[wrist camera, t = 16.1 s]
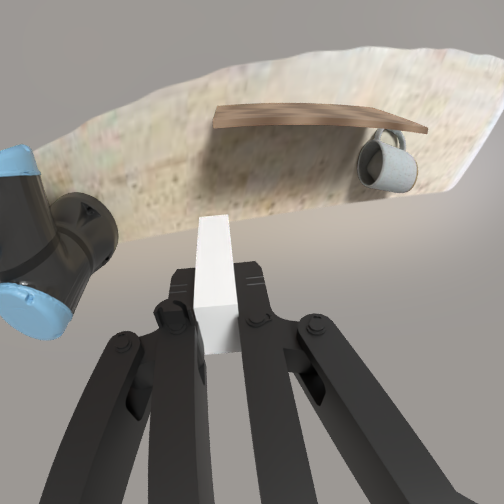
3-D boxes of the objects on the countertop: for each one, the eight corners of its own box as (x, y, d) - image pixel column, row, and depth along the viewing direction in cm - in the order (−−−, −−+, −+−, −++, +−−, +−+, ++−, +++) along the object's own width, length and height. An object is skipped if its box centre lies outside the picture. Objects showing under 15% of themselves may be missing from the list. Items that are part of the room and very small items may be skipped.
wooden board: (218, 113, 38) (213, 131, 26) (217, 106, 38) (212, 120, 25) (372, 114, 39) (427, 136, 27) (372, 107, 39) (428, 127, 26)
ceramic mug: (391, 185, 47) (413, 203, 40) (352, 176, 45) (372, 194, 39) (407, 130, 41) (433, 141, 35) (368, 117, 40) (392, 126, 33)
